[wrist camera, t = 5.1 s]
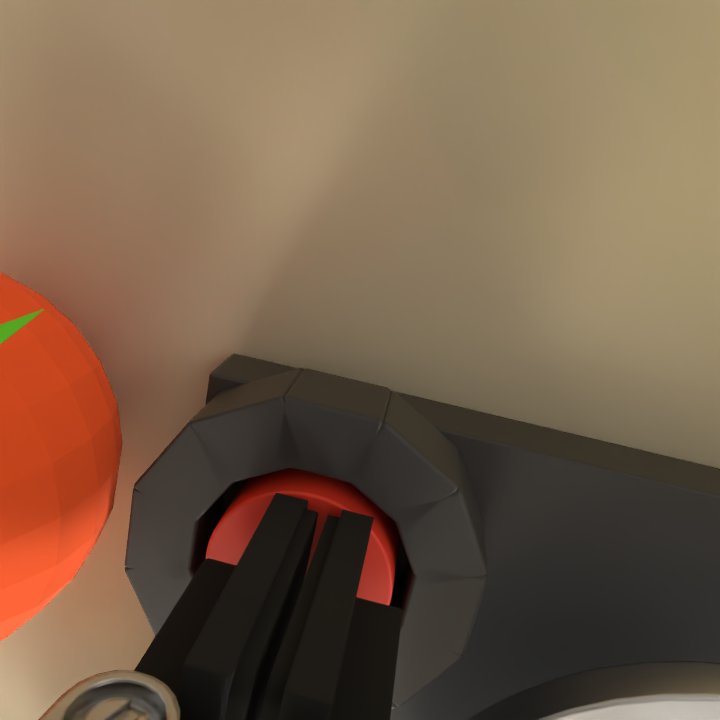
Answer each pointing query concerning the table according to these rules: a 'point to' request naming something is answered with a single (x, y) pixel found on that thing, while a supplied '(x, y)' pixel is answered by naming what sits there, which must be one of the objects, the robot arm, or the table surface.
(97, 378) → the clementine
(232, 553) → the button
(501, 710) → the pan
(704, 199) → the table surface
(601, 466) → the scale
